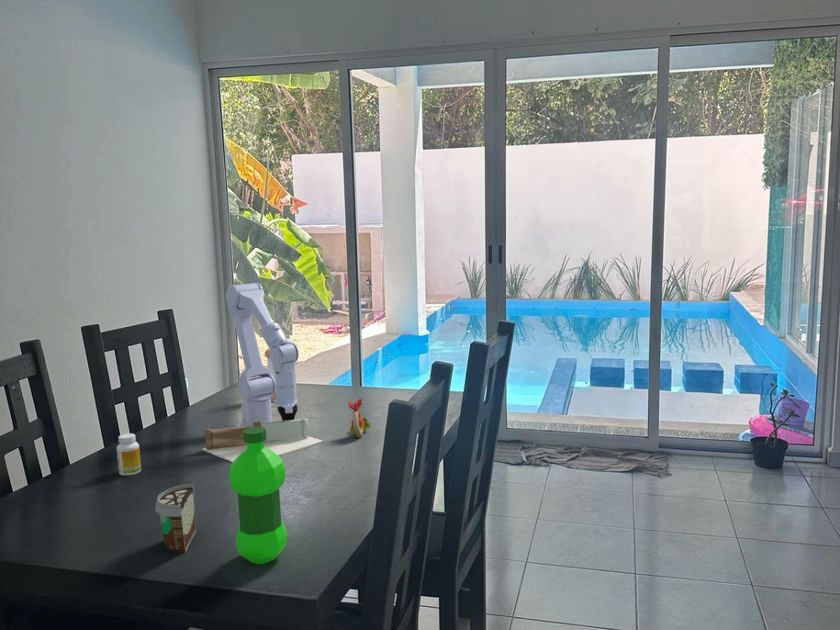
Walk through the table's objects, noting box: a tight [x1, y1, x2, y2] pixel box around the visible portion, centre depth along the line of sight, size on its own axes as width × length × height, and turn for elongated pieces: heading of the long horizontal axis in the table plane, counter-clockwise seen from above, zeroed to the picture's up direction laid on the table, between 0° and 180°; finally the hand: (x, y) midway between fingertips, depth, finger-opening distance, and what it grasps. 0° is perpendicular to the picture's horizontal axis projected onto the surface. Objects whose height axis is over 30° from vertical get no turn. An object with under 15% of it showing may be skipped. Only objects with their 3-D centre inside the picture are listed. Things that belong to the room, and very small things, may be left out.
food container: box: [154, 483, 197, 553], centre depth 145 cm, size 12×6×10 cm, turn 5°
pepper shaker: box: [264, 348, 277, 403], centre depth 255 cm, size 7×7×19 cm
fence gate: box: [262, 417, 309, 442], centre depth 208 cm, size 2×13×5 cm, turn 106°
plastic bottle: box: [228, 427, 288, 565], centre depth 137 cm, size 10×10×25 cm
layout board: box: [201, 436, 324, 463], centre depth 205 cm, size 21×26×1 cm
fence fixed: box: [204, 422, 261, 450], centre depth 204 cm, size 2×15×6 cm, turn 106°
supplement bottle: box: [116, 433, 142, 476], centre depth 186 cm, size 5×5×10 cm
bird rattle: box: [347, 398, 371, 439], centre depth 211 cm, size 6×11×9 cm
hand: (288, 430), depth 212 cm, fingers closed
